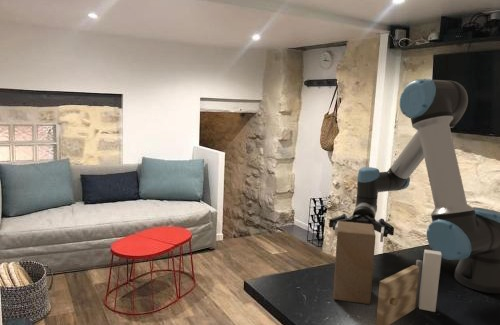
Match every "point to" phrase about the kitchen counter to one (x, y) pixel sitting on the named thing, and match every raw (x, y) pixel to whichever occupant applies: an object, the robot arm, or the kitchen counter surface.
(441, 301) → the kitchen counter surface
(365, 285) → the wooden block
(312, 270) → the kitchen counter surface
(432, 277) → the wall stub
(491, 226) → the robot arm
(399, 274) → the gate
